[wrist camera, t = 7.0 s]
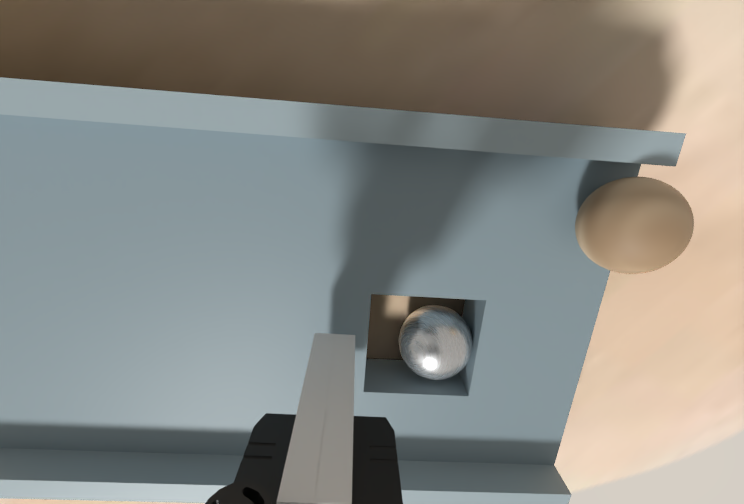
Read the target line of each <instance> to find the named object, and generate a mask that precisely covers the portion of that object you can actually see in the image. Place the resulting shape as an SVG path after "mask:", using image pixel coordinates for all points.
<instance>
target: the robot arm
mask: <svg viewBox="0 0 744 504" xmlns="http://www.w3.org/2000/svg"><path fill="white" fill-rule="evenodd" d="M354 373H355V335H345V334H327V333H315V334H314V339H313V343H312V347H311V352H310V356H309V361H308V365H307V369H306V374H305V378H304V383H303V387H302V392H301V396H300V400H299V405H298V409H297V414H296V415H295V414H271V413H266V414H265V415H264V416H263V417H262V418H261V419H260V420H259V421H258V422H257V424H256V425H255V426H254V428H253V430H252V433H251V436H250V439H249V441H248V445H247V447H246V450H245V452H244V455H243V459H242V461H241V463H240V466H239V469H238V472H237V474H236V477H235V480H234V483H232V484H230V485H227V486H225V487H223V488H221V489H219V490H218V491H217V492H216V493H215V494H213V495H212V496H211V497H210V498H209V499H208V500H207V502H206V503H205V504H403V500H402V491H401V483H400V474H399V466H398V457H397V450H396V440H395V432H394V429H393V428H392V426H391V425H390V423H389V421H388V420H387V418H386V417H368V416H354Z"/></svg>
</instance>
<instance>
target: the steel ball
mask: <svg viewBox="0 0 744 504" xmlns="http://www.w3.org/2000/svg"><path fill="white" fill-rule="evenodd" d="M399 348H400V352H401V355H402V358H403V359H404V361H405V363H406V364H407V365H408V367H409V368H410V369H411V370H412V371H414V372H415V373H416V374H418V375H420V376H422V377H424V378H428V379H433V380H441V379H447V378H450V377H452V376H454V375H456V374H457V373H459V372H460V371H461V370H462V369H463V368H464V367H465V365H466V364H467V362H468V361H469V359H470V356H471V352H472V336H471V332H470V329H469V327H468V325H467V323H466V322H465V320H464V319H463V318H462V317H461V316H460V315H459V314H458V313H457V312H455V311H454V310H452V309H450V308H447V307H445V306H440V305H428V306H424V307H421V308H419V309H417V310H415V311H414V312H412V313H411V314H410V315H409V316H408V317H407V318H406V320H405V321H404V323H403V325H402V327H401V330H400V333H399Z"/></svg>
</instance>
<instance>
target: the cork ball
mask: <svg viewBox="0 0 744 504" xmlns="http://www.w3.org/2000/svg"><path fill="white" fill-rule="evenodd" d="M693 227H694V219H693V214H692V210H691V208H690V206H689V204H688V202H687V200H686V199H685V198H684V197H683V195H682V194H681V193H680V192H679V191H677V190H676V189H675V188H673V187H672V186H670V185H668V184H666V183H664V182H662V181H659V180H656V179H652V178H647V177H628V178H621V179H617V180H614V181H611V182H609V183H606V184H604V185H603V186H601V187H599V188H598V189H596V190H595V191H594V192H592V193H591V194H590V195H589V196H588V197H587V198H586V199H585V201H584V202H583V203H582V205H581V207H580V209H579V211H578V213H577V217H576V221H575V233H576V238H577V241H578V244H579V246H580V247H581V249H582V251H583V252H584V253H585V255H586V256H587V257H588V258H589V259H590V260H592V261H593V262H594V263H596V264H597V265H599V266H601V267H603V268H605V269H608V270H610V271H614V272H618V273H624V274H639V273H646V272H651V271H654V270H657V269H659V268H662V267H664V266H666V265H667V264H669V263H671V262H672V261H673V260H675V259H676V258H677V257H678V256H679V255H680V254H681V253H682V252H683V251H684V250H685V248H686V247H687V245H688V243H689V242H690V239H691V237H692V233H693Z"/></svg>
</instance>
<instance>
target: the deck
mask: <svg viewBox="0 0 744 504" xmlns="http://www.w3.org/2000/svg"><path fill="white" fill-rule="evenodd" d="M685 135H686V134H684V133H672V132H660V131H647V130H635V129H623V128H611V127H599V126H587V125H574V124H562V123H550V122H538V121H526V120H514V119H501V118H489V117H477V116H465V115H453V114H441V113H428V112H416V111H404V110H392V109H380V108H368V107H356V106H343V105H331V104H319V103H307V102H295V101H283V100H270V99H258V98H246V97H234V96H222V95H210V94H197V93H185V92H173V91H161V90H149V89H137V88H124V87H112V86H100V85H88V84H76V83H64V82H51V81H39V80H27V79H15V78H3V77H0V498H15V499H57V500H99V501H141V502H183V503H206V502H207V500H208V499H209V498H210V497H211V496H212V495H213V494H215V493H216V492H217V491H218V490H219V489H221V488H223V487H225V486H227V485H230V484H232V483H234V480H235V477H236V474H237V472H238V469H239V466H240V463H241V461H242V459H243V455H244V452H245V450H246V447H247V445H248V441H249V439H250V436H251V433H252V430H253V428H254V426H255V425H256V424H257V422H258V421H259V420H260V419H261V418H262V417H263V416H264V415H265V414H266V413H271V414H295V415H296V414H297V409H298V405H299V400H300V396H301V392H302V387H303V383H304V378H305V374H306V369H307V365H308V361H309V356H310V352H311V347H312V343H313V339H314V334H315V333H327V334H345V335H355V373H354V416H368V417H386V418H387V420H388V421H389V423H390V425H391V426H392V428H393V429H394V432H395V440H396V450H397V457H398V466H399V474H400V483H401V491H402V500H403V504H569V500H570V497H571V493H570V492H569V490H568V488H567V486H566V485H565V483H564V481H563V480H562V478H561V476H560V475H559V473H558V471H557V469H556V468H555V466H554V463H555V460H556V456H557V453H558V449H559V446H560V443H561V439H562V436H563V432H564V429H565V425H566V422H567V418H568V415H569V411H570V408H571V405H572V401H573V398H574V394H575V391H576V387H577V384H578V380H579V377H580V373H581V370H582V366H583V363H584V360H585V356H586V353H587V349H588V346H589V342H590V339H591V335H592V332H593V328H594V325H595V322H596V318H597V315H598V311H599V308H600V304H601V301H602V297H603V294H604V290H605V287H606V283H607V280H608V277H609V273H610V270H608V269H605V268H603V267H601V266H599V265H597V264H596V263H594V262H593V261H592V260H590V259H589V258H588V257H587V256H586V255H585V253H584V252H583V251H582V249H581V247H580V246H579V244H578V241H577V238H576V233H575V221H576V217H577V213H578V211H579V209H580V207H581V205H582V203H583V202H584V201H585V199H586V198H587V197H588V196H589V195H590V194H591V193H592V192H594V191H595V190H596V189H598V188H599V187H601V186H603V185H604V184H606V183H609V182H611V181H614V180H617V179H621V178H628V177H637V176H638V173H639V169H640V166H641V164H651V165H664V166H676V163H677V160H678V157H679V154H680V151H681V148H682V145H683V141H684V138H685ZM371 294H379V295H397V296H415V297H433V298H452V299H465V302H464V308H463V314H462V318H463V319H464V320H465V322H466V323H467V325H468V327H469V329H470V332H471V336H472V352H471V356H470V359H469V361H468V362H467V364H466V365H465V367H464V368H463V369H462V370H461V371H460V372H459V373H457V374H456V375H454V376H452V377H450V378H447V379H441V380H433V379H428V378H424V377H422V376H420V375H418V374H416V373H415V372H414V371H412V370H411V369H410V368H409V367H408V365H407V364H406V363H405V361H404V360H390V359H368V358H366V355H367V342H368V330H369V318H370V305H371Z"/></svg>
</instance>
